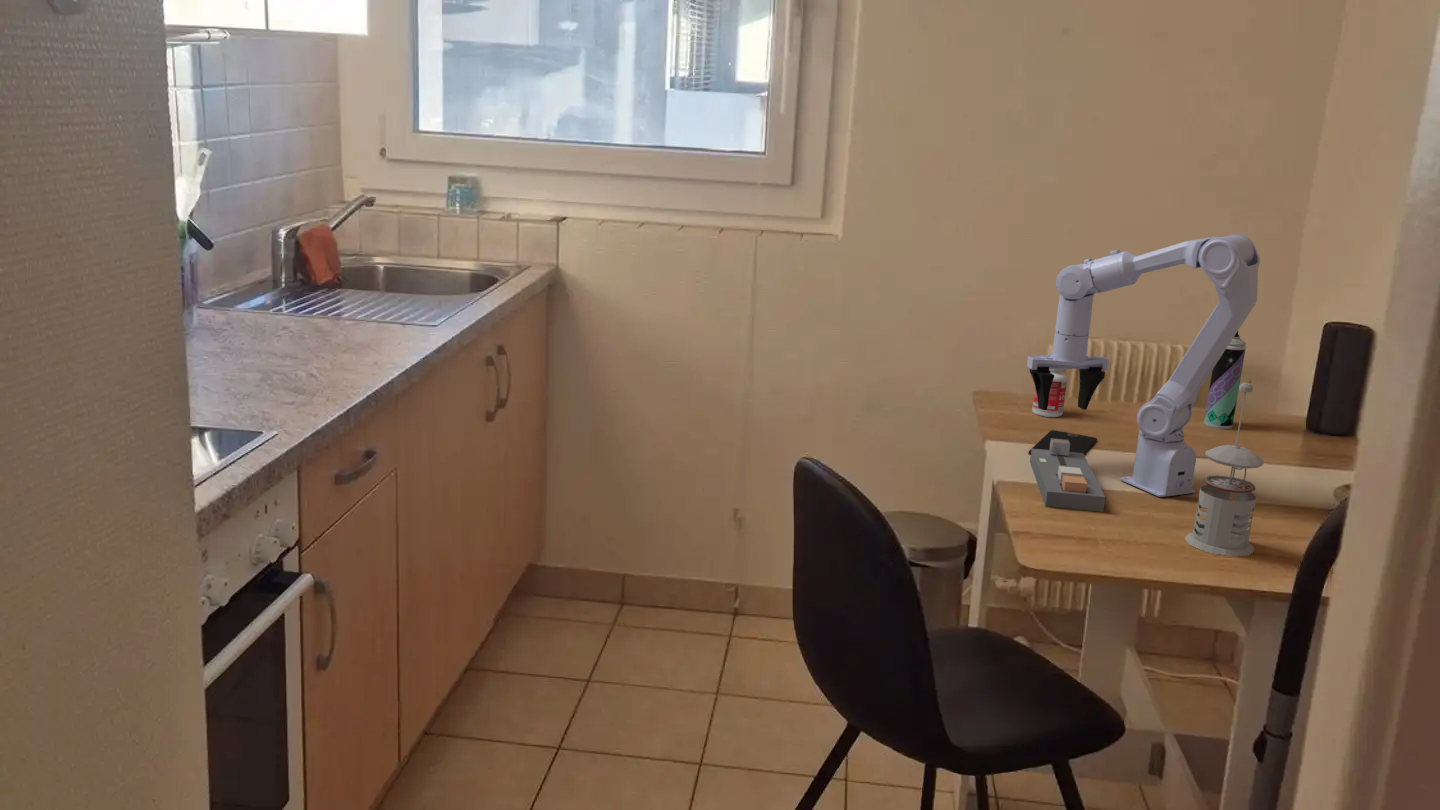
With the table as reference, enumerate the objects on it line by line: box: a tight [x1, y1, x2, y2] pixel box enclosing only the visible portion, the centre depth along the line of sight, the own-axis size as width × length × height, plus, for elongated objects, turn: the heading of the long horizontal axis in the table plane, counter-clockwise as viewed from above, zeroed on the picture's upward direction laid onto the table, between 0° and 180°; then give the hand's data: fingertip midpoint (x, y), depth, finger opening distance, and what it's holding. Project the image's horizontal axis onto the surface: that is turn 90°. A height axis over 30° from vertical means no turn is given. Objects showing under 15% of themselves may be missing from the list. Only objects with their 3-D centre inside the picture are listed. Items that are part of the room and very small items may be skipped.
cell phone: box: [1027, 429, 1098, 456], centre depth 233 cm, size 9×18×1 cm, turn 152°
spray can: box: [1203, 330, 1247, 430], centre depth 252 cm, size 6×6×20 cm
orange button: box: [1061, 475, 1087, 493], centre depth 202 cm, size 3×3×2 cm
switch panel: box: [1029, 448, 1106, 513], centre depth 211 cm, size 24×9×3 cm, turn 172°
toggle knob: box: [1049, 438, 1070, 456], centre depth 220 cm, size 2×3×2 cm
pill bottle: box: [1031, 369, 1068, 418], centre depth 255 cm, size 6×6×11 cm
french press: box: [1185, 382, 1265, 558], centre depth 185 cm, size 10×12×25 cm
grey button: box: [1057, 466, 1083, 482], centre depth 206 cm, size 3×3×2 cm
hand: (1062, 408), depth 221 cm, fingers open, 7 cm apart
